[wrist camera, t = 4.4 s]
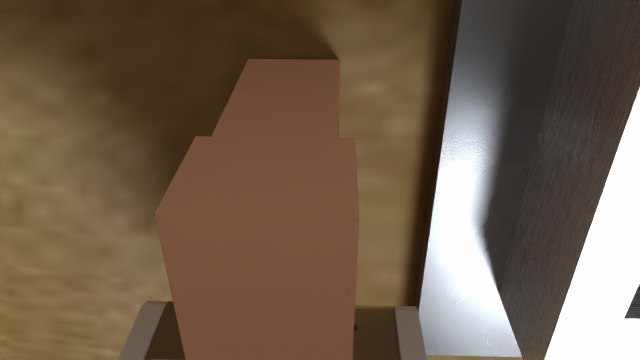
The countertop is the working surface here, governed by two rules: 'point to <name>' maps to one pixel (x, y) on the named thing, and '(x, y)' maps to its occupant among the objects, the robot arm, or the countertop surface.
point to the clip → (266, 222)
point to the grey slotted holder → (536, 184)
